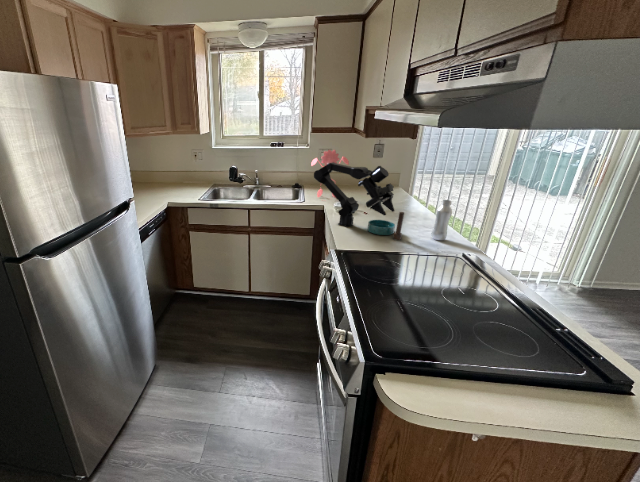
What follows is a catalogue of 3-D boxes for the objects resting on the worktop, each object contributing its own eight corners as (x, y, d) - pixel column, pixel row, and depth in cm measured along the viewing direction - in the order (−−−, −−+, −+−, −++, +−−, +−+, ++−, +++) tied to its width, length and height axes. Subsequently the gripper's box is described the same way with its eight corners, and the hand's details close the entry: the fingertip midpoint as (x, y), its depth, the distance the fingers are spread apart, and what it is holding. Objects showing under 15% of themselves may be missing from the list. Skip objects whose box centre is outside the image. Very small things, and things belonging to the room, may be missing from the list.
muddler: (392, 238, 161) (396, 212, 156) (394, 236, 164) (399, 210, 158) (399, 240, 159) (404, 213, 154) (401, 238, 161) (406, 212, 156)
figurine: (309, 195, 243) (312, 148, 231) (344, 197, 238) (349, 148, 225) (308, 200, 230) (311, 150, 217) (345, 202, 224) (351, 151, 211)
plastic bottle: (440, 242, 156) (450, 203, 148) (427, 238, 161) (436, 200, 154) (448, 240, 158) (458, 201, 151) (435, 236, 164) (444, 198, 157)
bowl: (363, 232, 170) (364, 224, 169) (372, 225, 179) (373, 218, 178) (388, 237, 162) (390, 229, 161) (396, 230, 171) (398, 223, 170)
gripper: (375, 181, 153) (394, 208, 149) (392, 176, 164) (411, 201, 160) (358, 194, 161) (375, 220, 157) (376, 188, 172) (392, 212, 169)
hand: (389, 213), depth 161 cm, fingers open, 9 cm apart
